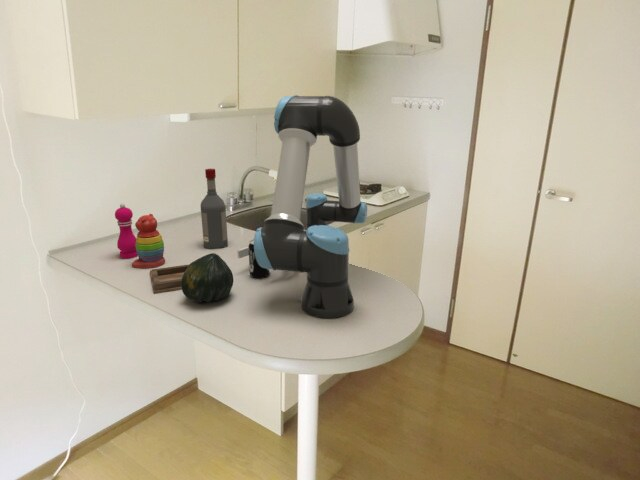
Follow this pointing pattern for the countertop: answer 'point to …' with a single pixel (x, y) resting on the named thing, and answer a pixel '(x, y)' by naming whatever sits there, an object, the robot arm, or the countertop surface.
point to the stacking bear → (148, 243)
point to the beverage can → (256, 264)
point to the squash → (207, 279)
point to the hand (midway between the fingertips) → (249, 258)
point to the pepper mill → (125, 233)
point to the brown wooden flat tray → (167, 278)
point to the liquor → (213, 216)
